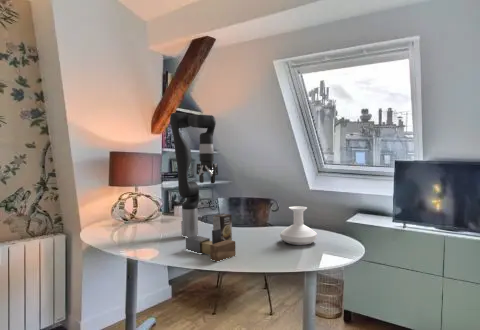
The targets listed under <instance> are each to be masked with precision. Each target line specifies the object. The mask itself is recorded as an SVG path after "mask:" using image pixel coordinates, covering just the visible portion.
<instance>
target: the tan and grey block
mask: <svg viewBox="0 0 480 330" xmlns="http://www.w3.org/2000/svg"><path fill="white" fill-rule="evenodd" d="M211 239H212V240H210V241H208V240H207V241H203V242H201V253H205V255H208V256H210V245H212V244H215V243H218V242H221V229H216V230H213V229H212V230H211Z"/></svg>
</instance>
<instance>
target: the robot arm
mask: <svg viewBox="0 0 480 330" xmlns="http://www.w3.org/2000/svg"><path fill="white" fill-rule="evenodd" d="M169 117H170V118H169V120H170V121H169V122H170V127H171V132H172V136H173V137H172V138H173V143H174V145H173V146H174V152H175V153H174V154H175V161H176V167H177V182H178V183H177V187H178V188H177V189H178V193H179V196H180V197H181V198H183V199H186V198H187V199H186V200H185V202H183V203H182V205H181V213H182V214H181V216H182V219H181V221H180V222H181V223H180V224H181V225H180V226H181V236H182V235H183V236H187V237H192V236H197V235H198V236H199V218H198V215H199V214H198V213H199V211H198V205H199V202H200V201H199V200H200V188H199V184H198V183H197V182H196V181H192V180H191V181H189V178H188V177H189V175H188V173H189V169H190V167H191V164H192V152H191V147H190V145H189V144H188V143H187V141H186V140H185V139H184V138H183V136H182V134H181V131H180V129H185V128H186V129H187V128H190V127H192V128H195V129H196V128H197V129H198V128H199V129H206V131H204V132H201V133H200V134H199V148H198V149H199V150H198V151H199V162H200V163H196V171H195V172H196V175H198V178H199V183H201V184H203V183H204V178H205V177H204V174H205V173H206V172H207V173H208V174H210V184H215V183H216V176H218V175H219V167H218V163H213V162H214V161H215V156H214V155H215V154H214V152H215V151H214V148H215V147H214V133H215V128H216V125H217V120H216V117H215V116H214V115H212V114H211V115H210V114H209V115H208V114H188V113H185V112H172V113H171V114H170V115H169Z"/></svg>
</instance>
